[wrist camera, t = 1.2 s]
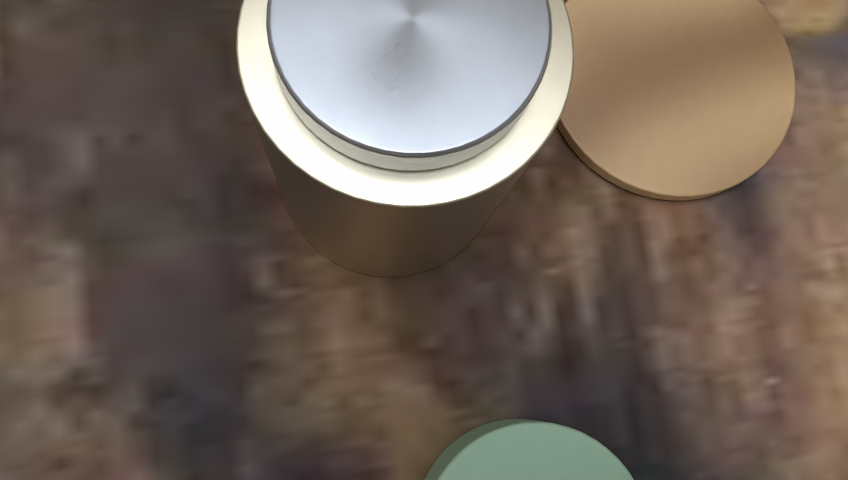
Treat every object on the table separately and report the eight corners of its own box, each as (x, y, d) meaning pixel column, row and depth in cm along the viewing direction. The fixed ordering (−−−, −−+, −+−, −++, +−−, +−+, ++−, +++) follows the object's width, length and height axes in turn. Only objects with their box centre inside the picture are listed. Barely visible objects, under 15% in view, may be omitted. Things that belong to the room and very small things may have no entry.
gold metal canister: (537, 199, 24) (660, 69, 14) (360, 320, 23) (363, 267, 13) (416, 32, 25) (453, -199, 15) (238, 141, 24) (154, -35, 14)
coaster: (835, 113, 26) (846, 107, 25) (646, 250, 24) (653, 247, 24) (683, -77, 27) (690, -87, 26) (492, 44, 25) (495, 35, 25)
